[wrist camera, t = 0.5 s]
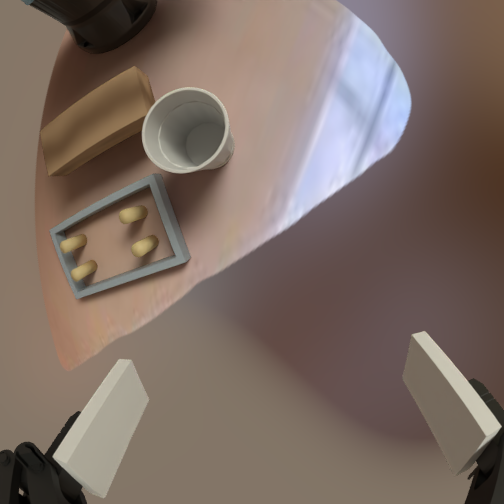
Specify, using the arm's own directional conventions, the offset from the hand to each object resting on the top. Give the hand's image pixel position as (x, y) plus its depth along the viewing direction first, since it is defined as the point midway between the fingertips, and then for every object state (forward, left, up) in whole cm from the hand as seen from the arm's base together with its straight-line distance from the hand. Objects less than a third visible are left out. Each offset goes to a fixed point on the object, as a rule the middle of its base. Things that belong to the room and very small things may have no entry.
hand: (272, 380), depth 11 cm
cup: (-15, -3, -26) cm, 30 cm away
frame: (-8, -21, -26) cm, 34 cm away
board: (-23, -15, -22) cm, 35 cm away
